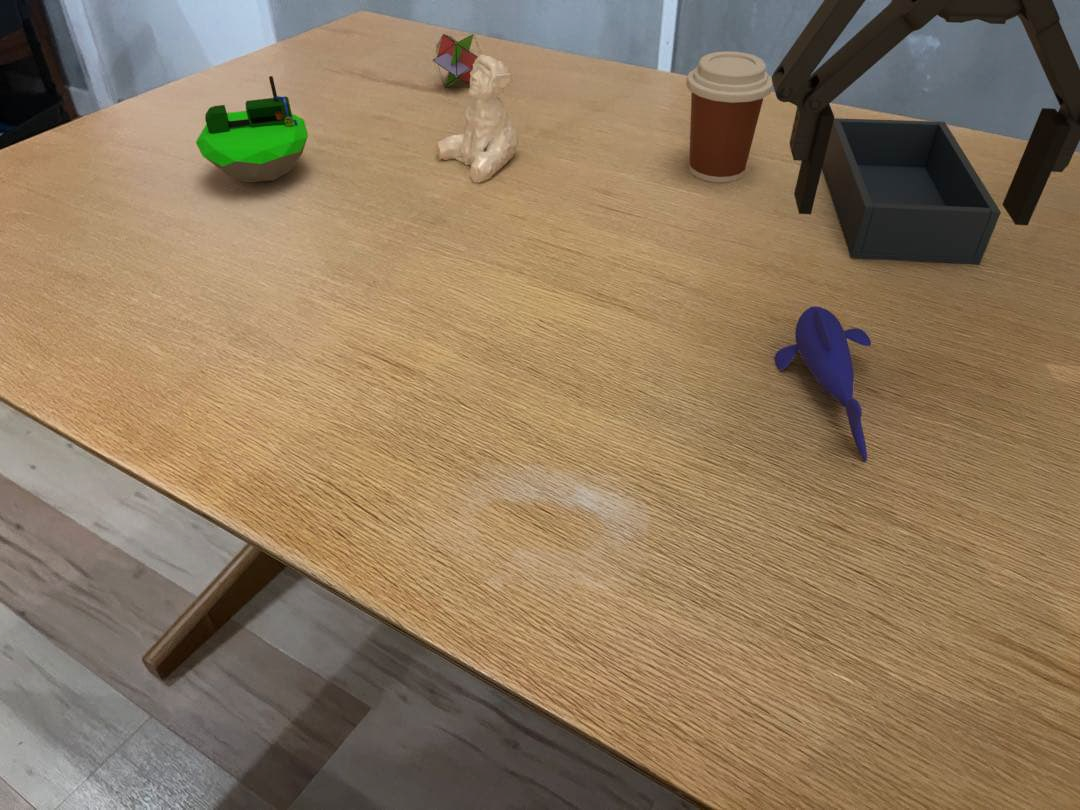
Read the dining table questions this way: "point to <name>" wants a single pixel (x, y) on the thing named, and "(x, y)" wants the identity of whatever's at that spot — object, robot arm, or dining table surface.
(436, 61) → the geometric puzzle
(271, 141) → the miniature floating island
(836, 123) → the bin
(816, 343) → the fish toy
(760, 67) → the coffee cup
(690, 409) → the dining table surface
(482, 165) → the seated clay statuette
